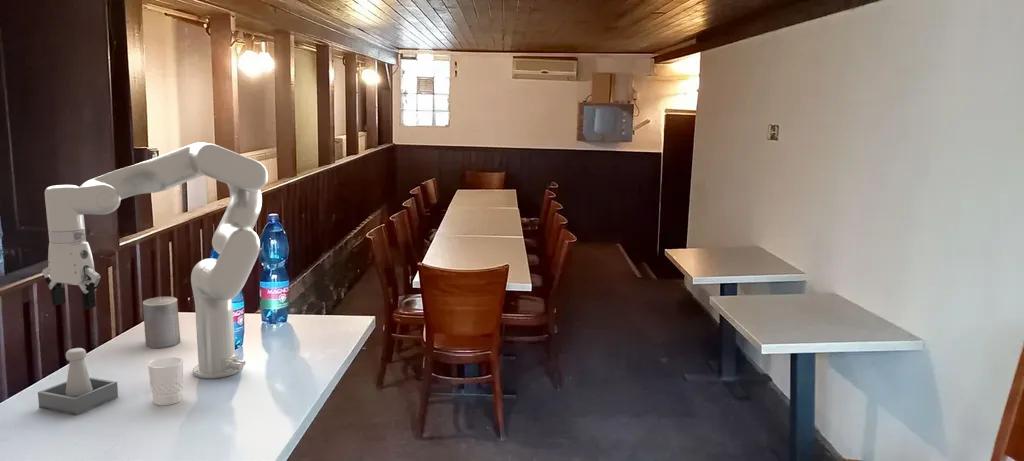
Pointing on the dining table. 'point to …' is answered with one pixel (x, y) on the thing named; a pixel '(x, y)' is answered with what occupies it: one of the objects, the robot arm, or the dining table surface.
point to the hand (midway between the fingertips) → (74, 306)
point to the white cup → (166, 380)
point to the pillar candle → (161, 322)
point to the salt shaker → (77, 374)
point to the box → (60, 402)
